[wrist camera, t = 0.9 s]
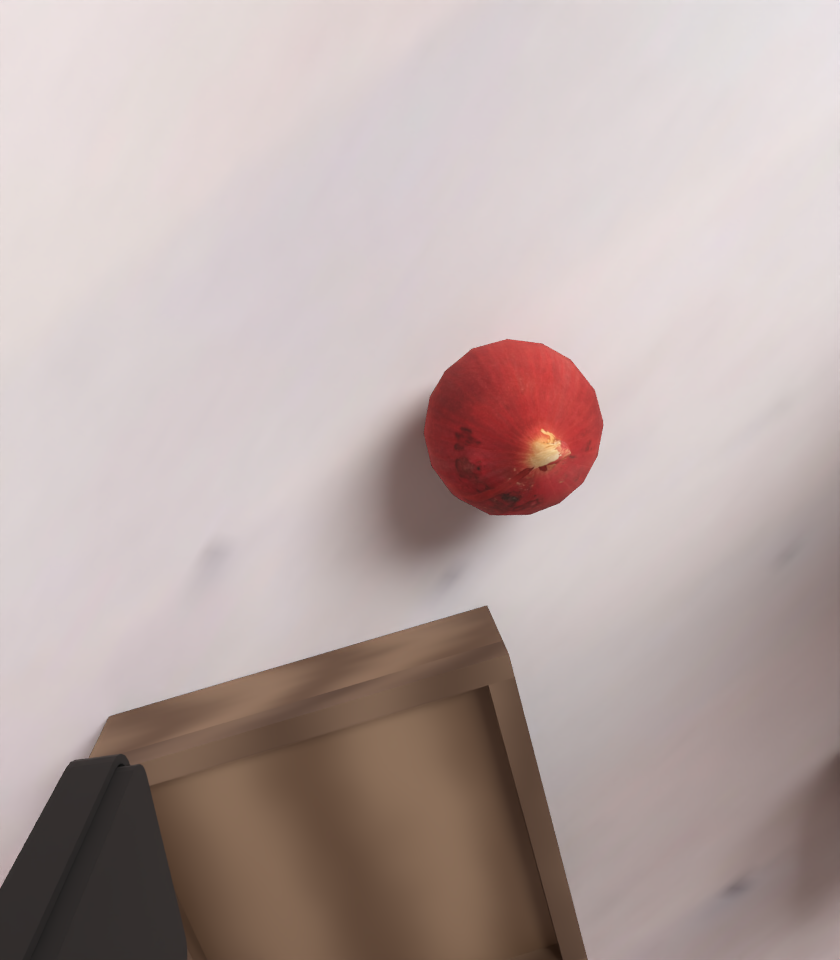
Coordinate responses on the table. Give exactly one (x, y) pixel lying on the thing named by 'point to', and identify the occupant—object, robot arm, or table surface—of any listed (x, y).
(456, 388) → the onion
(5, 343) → the table surface
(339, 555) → the table surface
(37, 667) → the table surface
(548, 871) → the walnut tray
